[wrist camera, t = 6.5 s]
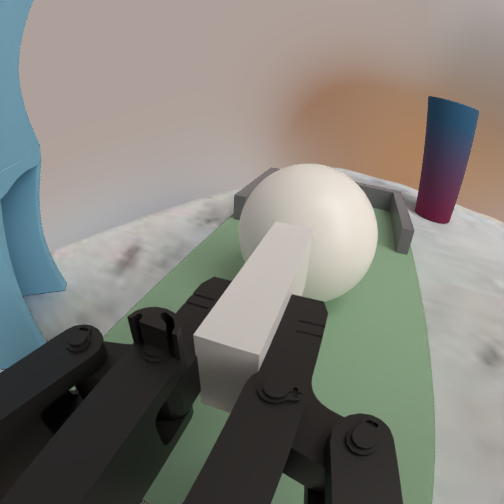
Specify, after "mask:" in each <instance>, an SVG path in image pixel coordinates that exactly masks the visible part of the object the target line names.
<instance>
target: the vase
mask: <svg viewBox="0 0 504 504" xmlns="http://www.w3.org/2000/svg"><path fill="white" fill-rule="evenodd" d="M32 3H33V0H0V369H7V368H8V367H10V366H11V365H13V364H14V363H16V362H18V361H19V360H21V359H22V358H24V357H25V356H27V355H28V354H30V353H31V352H33V351H34V350H36V349H37V348H39V347H40V346H42V345H44V344H45V343H47V342H46V341H45V339H44V337H43V336H42V334H41V332H40V330H39V329H38V327H37V325H36V323H35V321H34V319H33V317H32V315H31V313H30V311H29V309H28V307H27V305H26V303H25V301H24V298H23V296H26V295H34V294H41V293H49V292H56V291H64V290H65V289H66V284H67V283H66V281H65V280H64V278H63V276H62V275H61V273H60V271H59V270H58V268H57V266H56V264H55V262H54V260H53V258H52V256H51V254H50V251H49V249H48V247H47V244H46V241H45V237H44V234H43V229H42V223H41V217H40V202H39V186H40V168H41V153H40V144H39V143H38V140H37V138H36V135H35V133H34V131H33V128H32V126H31V123H30V121H29V118H28V115H27V112H26V110H25V106H24V102H23V98H22V94H21V89H20V81H19V71H18V68H19V53H20V45H21V40H22V35H23V31H24V27H25V23H26V20H27V17H28V13H29V11H30V8H31V5H32Z"/></svg>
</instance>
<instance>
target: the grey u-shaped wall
mask: <svg viewBox="0 0 504 504" xmlns="http://www.w3.org/2000/svg"><path fill="white" fill-rule="evenodd" d="M278 170H280V169H277V168H270V169H269V170H267V171H266V172H265V173H263V174H262V175H261V176H260V177H258V178H257V179H255V180H254V181H253V182H251V183H250V184H249V185H247V186H246V187H245V188H243V189H242V190H241V191H239V192H238V193H237V194H235V195H234V219H236V220H240V217H241V213H242V210H243V207H244V205H245V203H246V201H247V199H248V197H249V196H250V194H251V192H252V191H253V190H254V189H255V188H256V186H257V185H258V184H259V183H260V182H261V181H263V180H264V179H265V178H266V177H268V176H269V175H271V174H272V173H274V172H276V171H278ZM355 183H357V182H355ZM357 184H358V185H359V187H360V188H361V189H362V190H363V191H364V193H365V194H366V196H367V198H368V199H369V201H370V203H371V205H372V207H373V208H376V209H381V210H385V211H389V213H390V218H391V224H392V230H393V236H394V243H395V249H396V253H400V254H405V255H407V254H408V251H409V247H410V244H411V240H412V237H413V233H414V228H413V225H412V222H411V219H410V216H409V213H408V210H407V207H406V204H405V202H404V199H403V196H402V193H401V192H399V191H394V190H390V189H386V188H381V187H377V186H372V185H367V184H362V183H357Z"/></svg>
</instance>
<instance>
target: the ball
mask: <svg viewBox="0 0 504 504" xmlns="http://www.w3.org/2000/svg"><path fill="white" fill-rule="evenodd" d="M275 222H280V223H286V224H291V225H296V226H301V227H306V228H311V229H314V232H313V239H312V245H311V251H310V258H309V264H308V270H307V276H306V282H305V288H304V291H303V294H302V297H306V298H311V299H315V300H320V301H324V302H326V301H330V300H333V299H335V298H337V297H340V296H341V295H343V294H345V293H346V292H348V291H349V290H351V289H352V288H353V287H354V286H355V285H356V284H357V283H358V282H359V281H360V280H361V279H362V278H363V276H364V275H365V274H366V272H367V271H368V269H369V267H370V265H371V263H372V261H373V258H374V255H375V252H376V247H377V240H378V228H377V221H376V217H375V213H374V210H373V207H372V205H371V203H370V201H369V199H368V198H367V196H366V194H365V193H364V191H363V190H362V189H361V188H360V187H359V185H358V184H357V183H355V182H354V181H353V180H352V179H351V178H350V177H348V176H347V175H345V174H344V173H342V172H340V171H338V170H336V169H333V168H331V167H328V166H324V165H319V164H309V163H306V164H296V165H292V166H288V167H285V168H282V169H280V170H278V171H276V172H274V173H272V174H271V175H269V176H268V177H266V178H265V179H264V180H263V181H261V182H260V183H259V184H258V185H257V186H256V188H255V189H254V190H253V191H252V192H251V194H250V196H249V197H248V199H247V201H246V203H245V205H244V207H243V210H242V213H241V217H240V222H239V231H238V233H239V245H240V250H241V254H242V257H243V259H244V262H245V263H246V262H247V260H248V259H249V257H250V256H251V255H252V253H253V252H254V251H255V249H256V248H257V246H258V245H259V244H260V242H261V241H262V239H263V238H264V237H265V235H266V234H267V233H268V231H269V230H270V228H271V227H272V226H273V224H274V223H275Z"/></svg>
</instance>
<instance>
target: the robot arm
mask: <svg viewBox="0 0 504 504" xmlns="http://www.w3.org/2000/svg"><path fill="white" fill-rule="evenodd" d="M313 232H314V229H311V228H306V227H301V226H296V225H291V224H286V223H280V222H275V223H274V224H273V226H272V227H271V228H270V230H269V231H268V233H267V234H266V235H265V237H264V238H263V239H262V241H261V242H260V244H259V245H258V246H257V248H256V249H255V251H254V252H253V253H252V255H251V256H250V257H249V259H248V260H247V262H246V263H245V264H244V266H243V267H242V268H241V270H240V271H239V273H238V274H237V275H236V277H235V278H234V279H233V281H230V280H226V279H222V278H218V277H212V278H211V279H209V280H207V281H205V282H203V283H201V284H200V285H199V287H198V288H197V289H196V290H195V291H194V292H193V295H191V296H190V297H189V298H188V299H187V301H186V303H184V304H183V305H182V306H181V308H180V309H179V310H178V311H177V312H176V314H175V313H174V312H172V311H170V310H168V309H166V308H161V307H145V308H142V309H139V310H137V311H134V312H133V313H132V314H130V315H129V316H127V318H128V322H129V326H130V330H131V334H132V338H133V341H134V343H133V344H122V343H114V342H107V341H104V339H103V336H102V334H101V333H100V331H99V330H98V329H97V328H95V327H93V326H91V325H78V326H74V327H71V328H69V329H67V330H65V331H64V332H62V333H61V334H59V335H58V336H56V337H54V338H53V339H51V340H50V341H48V342H47V343H45V344H44V345H42V346H40V347H39V348H37V349H36V350H34V351H33V352H31V353H30V354H28V355H27V356H25V357H24V358H22V359H21V360H19V361H18V362H16V363H14V364H13V365H11V366H10V367H8V368H7V369H5V370H4V371H2V372H1V373H0V504H140V503H141V501H142V499H143V498H144V496H145V495H146V493H147V491H148V490H149V488H150V487H151V485H152V483H153V482H154V480H155V479H156V477H157V475H158V474H159V472H160V470H161V469H162V467H163V466H164V464H165V462H166V461H167V459H168V457H169V456H170V454H171V452H172V451H173V449H174V447H175V446H176V444H177V442H178V441H179V439H180V437H181V436H182V434H183V432H184V431H185V429H186V427H187V426H188V424H189V422H190V420H191V419H192V415H193V412H194V411H193V403H194V401H195V400H196V398H197V396H198V395H199V393H200V398H201V403H203V404H206V405H209V406H211V407H214V408H217V409H220V410H223V411H226V412H229V413H230V415H229V417H228V419H227V421H226V423H225V425H224V427H223V429H222V431H221V433H220V435H219V437H218V439H217V441H216V443H215V444H214V446H213V448H212V450H211V452H210V454H209V456H208V458H207V460H206V461H205V463H204V465H203V467H202V469H201V471H200V473H199V475H198V476H197V478H196V480H195V482H194V484H193V485H192V487H191V489H190V491H189V493H188V495H187V496H186V498H185V500H184V502H183V503H182V504H271V502H272V499H273V497H274V494H275V492H276V489H277V486H278V484H279V481H280V478H281V475H282V473H284V474H285V475H287V476H288V477H290V478H292V479H293V480H295V481H297V482H298V483H300V484H302V485H304V504H403V499H402V491H401V483H400V475H399V469H398V462H397V456H396V449H395V443H394V438H393V435H392V433H391V430H390V428H389V427H388V426H387V425H386V424H385V423H384V422H383V421H382V420H381V419H379V418H377V417H375V416H373V415H370V414H362V413H358V414H352V415H348V416H346V417H343V416H341V415H339V414H337V413H335V412H334V411H332V410H330V409H328V408H327V407H326V406H324V405H323V404H322V403H321V402H320V401H319V400H318V399H317V398H316V396H315V394H314V392H313V389H312V376H313V373H314V369H315V365H316V362H317V358H318V354H319V350H320V346H321V342H322V338H323V334H324V330H325V326H326V321H327V317H328V311H327V309H326V306H325V303H324V301H320V300H315V299H311V298H306V297H302V294H303V291H304V288H305V282H306V276H307V270H308V264H309V258H310V251H311V245H312V239H313ZM74 386H75V387H76V389H75V390H70V389H71V388H72V387H74Z"/></svg>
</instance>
